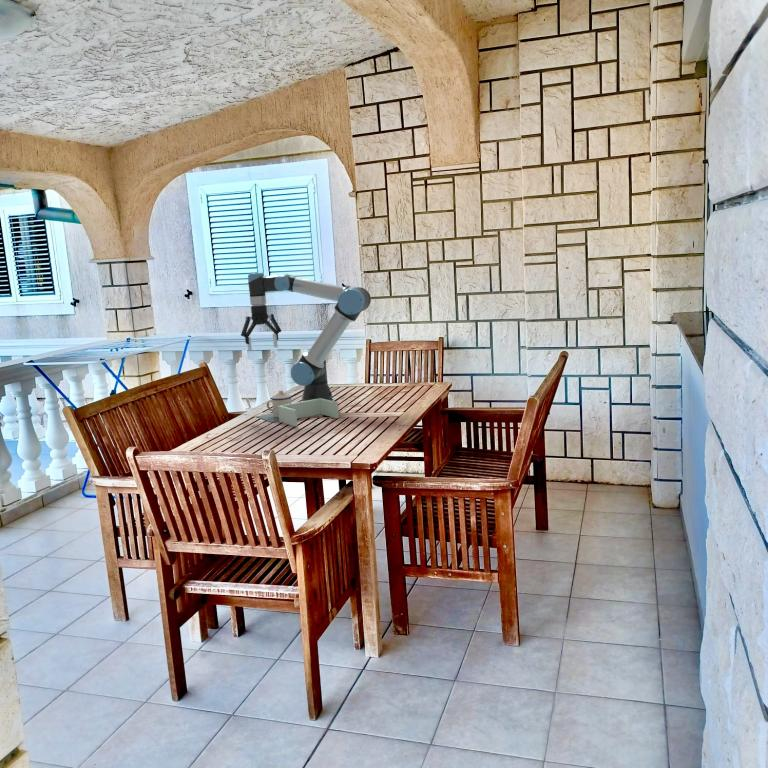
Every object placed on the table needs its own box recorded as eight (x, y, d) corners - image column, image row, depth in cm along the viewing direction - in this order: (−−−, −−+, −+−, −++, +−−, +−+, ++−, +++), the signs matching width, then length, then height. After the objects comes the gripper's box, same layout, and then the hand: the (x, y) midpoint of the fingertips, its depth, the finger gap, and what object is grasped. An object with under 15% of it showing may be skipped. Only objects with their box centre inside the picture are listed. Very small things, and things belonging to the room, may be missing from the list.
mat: (291, 410, 349) (291, 409, 349) (308, 415, 334) (308, 414, 334) (255, 417, 339) (255, 416, 339) (272, 422, 324) (272, 421, 324)
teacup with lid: (296, 413, 339) (293, 388, 337) (288, 417, 330) (286, 392, 328) (271, 414, 342) (269, 389, 340) (264, 418, 333) (261, 393, 331)
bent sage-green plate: (321, 413, 337) (320, 398, 336) (338, 417, 324) (337, 402, 323) (279, 421, 326) (277, 405, 325) (295, 426, 313) (293, 410, 312)
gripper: (278, 302, 365) (282, 345, 368) (231, 307, 352) (235, 351, 355) (285, 302, 359) (289, 346, 362) (237, 307, 345) (241, 352, 349)
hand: (263, 348), depth 358 cm, fingers open, 13 cm apart
